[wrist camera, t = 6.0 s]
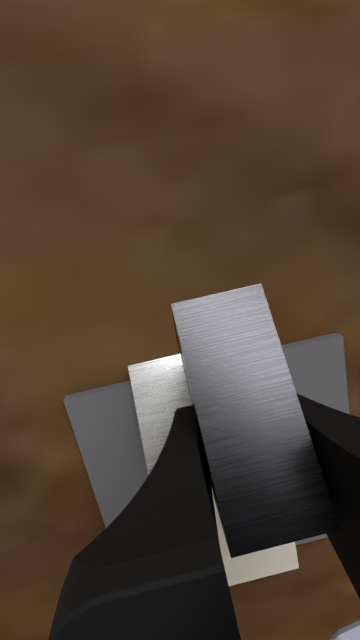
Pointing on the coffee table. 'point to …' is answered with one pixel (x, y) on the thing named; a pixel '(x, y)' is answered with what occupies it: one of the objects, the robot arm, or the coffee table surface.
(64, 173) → the coffee table surface
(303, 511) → the mounted block
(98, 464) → the mat
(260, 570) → the cream rectangular block
